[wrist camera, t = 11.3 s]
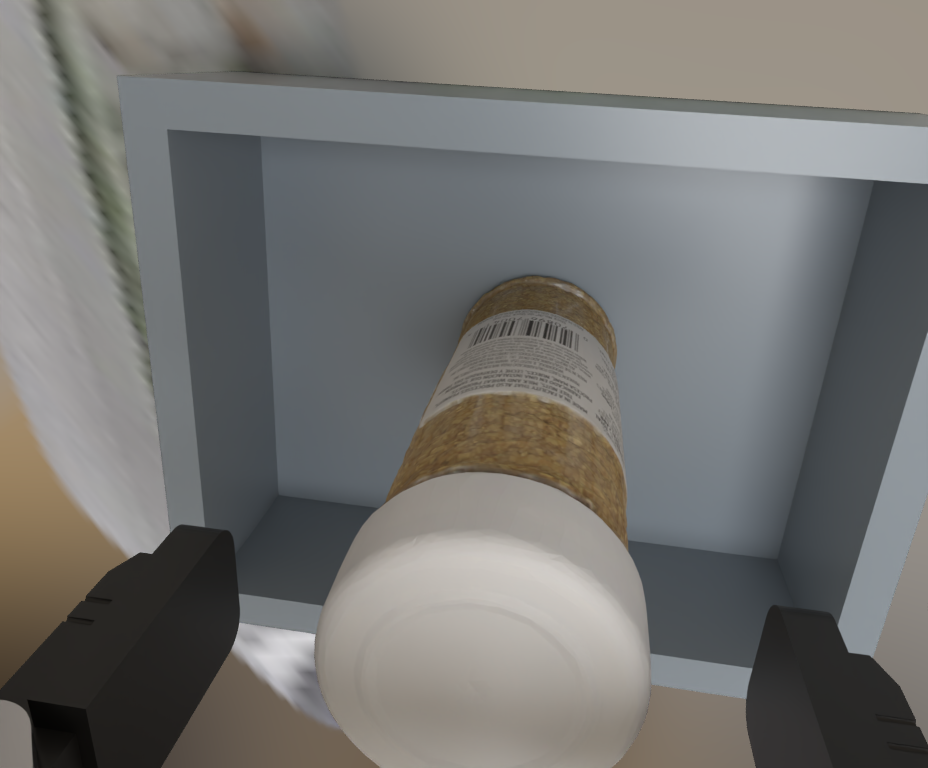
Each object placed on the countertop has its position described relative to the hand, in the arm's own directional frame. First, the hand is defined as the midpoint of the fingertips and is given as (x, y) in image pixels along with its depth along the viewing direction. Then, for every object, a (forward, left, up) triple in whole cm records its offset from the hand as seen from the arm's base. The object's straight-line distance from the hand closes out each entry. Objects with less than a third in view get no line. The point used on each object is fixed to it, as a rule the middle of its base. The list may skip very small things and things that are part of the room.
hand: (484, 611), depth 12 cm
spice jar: (0, 0, -12) cm, 12 cm away
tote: (0, 0, -13) cm, 13 cm away
